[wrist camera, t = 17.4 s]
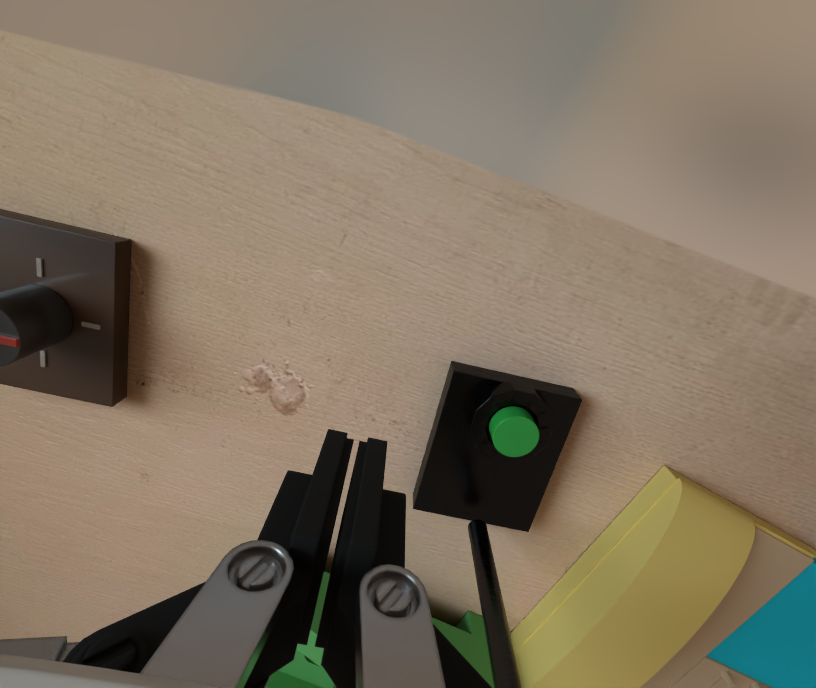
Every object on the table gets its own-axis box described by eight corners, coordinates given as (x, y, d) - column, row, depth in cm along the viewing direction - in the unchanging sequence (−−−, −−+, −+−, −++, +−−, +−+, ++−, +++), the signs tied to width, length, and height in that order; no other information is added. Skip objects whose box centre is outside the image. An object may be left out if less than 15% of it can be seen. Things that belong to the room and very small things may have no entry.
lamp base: (452, 358, 38) (456, 377, 34) (574, 385, 39) (591, 407, 35) (412, 493, 43) (413, 523, 39) (522, 515, 43) (533, 546, 40)
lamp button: (496, 401, 35) (500, 412, 34) (539, 411, 36) (546, 422, 34) (483, 440, 36) (486, 452, 35) (525, 449, 37) (530, 461, 35)
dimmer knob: (11, 336, 36) (-54, 360, 31) (8, 278, 34) (-62, 293, 29) (73, 349, 36) (18, 375, 31) (72, 292, 34) (15, 310, 29)
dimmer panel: (-15, 205, 34) (-42, 206, 32) (131, 239, 35) (114, 242, 33) (-3, 369, 39) (-26, 379, 37) (126, 396, 39) (111, 408, 37)
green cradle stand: (490, 619, 48) (514, 753, 37) (427, 693, 52) (431, 834, 41) (285, 530, 44) (242, 649, 33) (235, 617, 48) (180, 749, 37)
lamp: (440, 473, 37) (492, 999, 13) (543, 494, 38) (773, 1034, 14) (414, 556, 40) (419, 1110, 16) (510, 574, 41) (653, 1134, 17)
